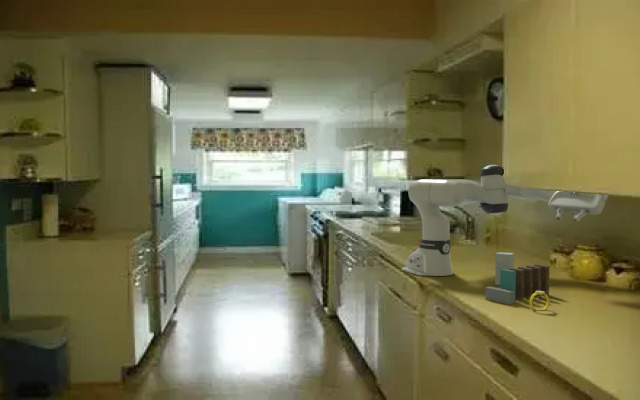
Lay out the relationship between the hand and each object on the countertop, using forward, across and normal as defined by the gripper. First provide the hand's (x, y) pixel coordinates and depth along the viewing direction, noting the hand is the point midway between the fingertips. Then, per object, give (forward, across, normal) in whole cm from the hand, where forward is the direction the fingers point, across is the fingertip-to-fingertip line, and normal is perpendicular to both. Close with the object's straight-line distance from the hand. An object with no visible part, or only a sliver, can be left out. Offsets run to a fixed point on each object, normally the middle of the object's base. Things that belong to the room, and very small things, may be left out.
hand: (566, 219), depth 226 cm
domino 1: (+41, 0, +5) cm, 41 cm away
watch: (+43, -15, +7) cm, 46 cm away
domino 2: (+37, 0, +1) cm, 37 cm away
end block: (+43, 0, +7) cm, 44 cm away
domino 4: (+31, 0, -5) cm, 31 cm away
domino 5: (+28, 0, -8) cm, 29 cm away
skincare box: (+26, +18, -10) cm, 33 cm away
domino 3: (+34, 0, -2) cm, 34 cm away
